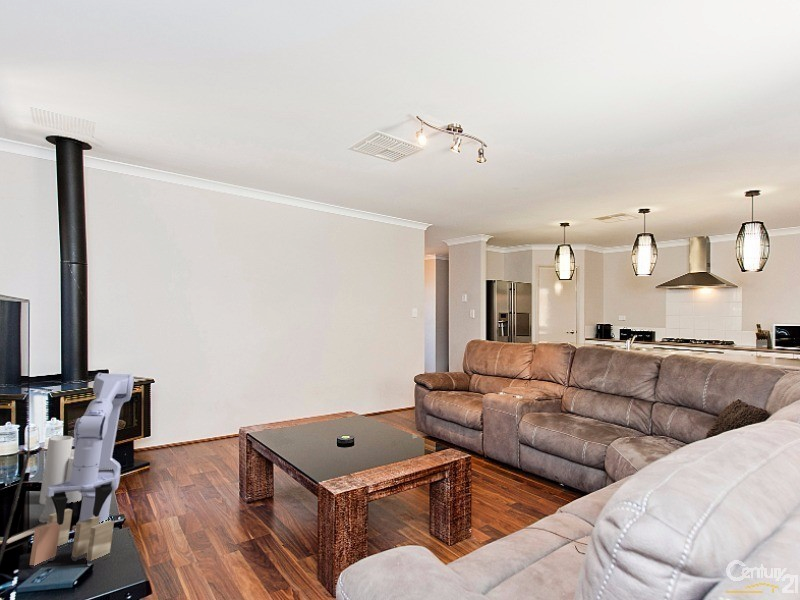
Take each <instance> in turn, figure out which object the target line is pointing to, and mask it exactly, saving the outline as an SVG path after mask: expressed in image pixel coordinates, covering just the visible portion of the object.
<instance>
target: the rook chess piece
mask: <svg viewBox="0 0 800 600" xmlns="http://www.w3.org/2000/svg"><path fill="white" fill-rule="evenodd" d="M45 498H46V501H45V503H46V505H45V504H44V509H43V511H42V512H41V514H39V519H38V521H39V523H42V524H46V523H45V522H48V517H49V515H50V514H53V513H56V509H55V506H54V503H53V501H52V498H51V497H48V496H47V495H46V496H45Z"/></svg>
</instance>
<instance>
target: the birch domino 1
mask: <svg viewBox="0 0 800 600" xmlns="http://www.w3.org/2000/svg"><path fill="white" fill-rule="evenodd" d="M72 515H73V509H71V508H65V512H64V521H63V524H61V525H60V532H59V538H58V545H57V546H60V545H63V544H65V543H67V542H68V543H69V536H70V529H71V523H72ZM55 521H57V514H56V513H53V514H50V515H49V517H48V523H46V524H49V523H52V522H55Z"/></svg>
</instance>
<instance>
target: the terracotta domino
mask: <svg viewBox="0 0 800 600" xmlns="http://www.w3.org/2000/svg"><path fill="white" fill-rule="evenodd" d="M59 532H60V525H59V524H58V523H57V521H55V522H52V523H49V524H47V523H45V524H44V525H41V526H38V527H35V528H34V534H33V539H32V546H31V552H30V559H29V565H34V566H35V565H37V564H39V563H41V562H43V561H46V560H48V559H50V558H53V557H55V556H56V557H57V550H58V549H57V545H58V538H59Z"/></svg>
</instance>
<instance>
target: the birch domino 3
mask: <svg viewBox="0 0 800 600" xmlns="http://www.w3.org/2000/svg"><path fill="white" fill-rule="evenodd" d="M114 524H115V521H114V520H111V519H110V520H109V521H106V522H103V523H101V524H98V525H96V526H93V527H91V531H90V538H89V545H88V552H87V557H86V560H89V561H92V560H94V559H97V558H99V557H102V556H104V555H106V554H108V553H111V546H112V540H113V533H114Z"/></svg>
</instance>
